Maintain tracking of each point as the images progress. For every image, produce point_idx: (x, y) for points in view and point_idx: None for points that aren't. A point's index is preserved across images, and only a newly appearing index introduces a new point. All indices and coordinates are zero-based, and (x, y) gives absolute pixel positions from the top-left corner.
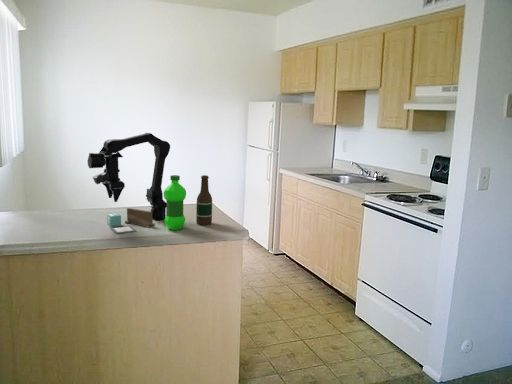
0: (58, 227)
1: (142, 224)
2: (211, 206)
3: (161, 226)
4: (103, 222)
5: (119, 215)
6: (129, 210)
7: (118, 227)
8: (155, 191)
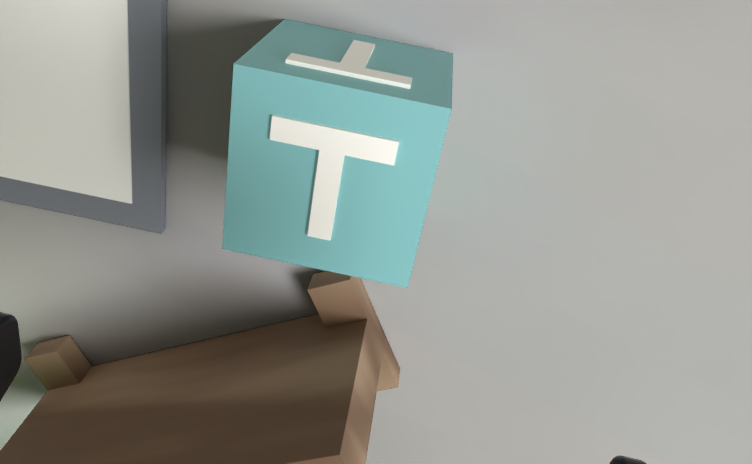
0: None
1: (149, 358)
2: None
3: None
4: (601, 60)
5: (242, 236)
6: (293, 440)
7: (148, 78)
8: None
